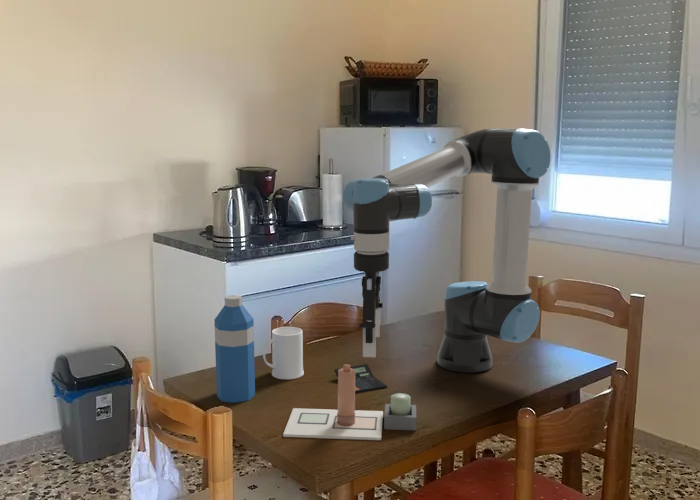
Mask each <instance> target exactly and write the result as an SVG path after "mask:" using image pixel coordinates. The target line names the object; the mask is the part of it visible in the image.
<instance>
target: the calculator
mask: <svg viewBox="0 0 700 500" xmlns="http://www.w3.org/2000/svg"><path fill="white" fill-rule="evenodd" d="M341 368H342V367H341ZM341 368H336V369H335V368H334V373H335V376H336V377H337V378H338V370H339V369H341ZM351 368H352V369H354V370H355V394H360V393H365V392H371V391H377V390H383V389H387V388H388V386H387V385H386V384H385V383H384V382H382V381H381V380H380V379H378V378H377V377H376V376H375V375H374V374H373V373H372V371H371V369H370V367H369V365H368V363H364V364H359V365H353V366H351Z"/></svg>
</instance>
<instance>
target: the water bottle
mask: <svg viewBox="0 0 700 500" xmlns="http://www.w3.org/2000/svg"><path fill="white" fill-rule="evenodd" d="M213 320H214V346H215V347H214V349H215V354H214V355H215V377H216V378H215V379H216V381H215V382H216V397H217V398H218V399H219V400H220V402H225V403H231V404H236V403H241V402H242V403H243V402H247V401H250V400H251V399H252V398H254V396H255V395H256V381H255V380H256V377H255V376H256V375H255V373H256V372H255V371H256V370H255V367H256V365H255V335H254V334H255V333H254V332H255V329H254V328H255V324H254V318H253V316H252V314H250V313H249V311H248V310H247V309H246V308H245V306H244V305H243V296H242V295H239V294H233V295H232V294H231V295H226V296H224V306H223V307H222V308H221V310H220V311H219V313H218V314H217V316H216V317H215V318H214V319H213Z"/></svg>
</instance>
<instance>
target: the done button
mask: <svg viewBox="0 0 700 500" xmlns="http://www.w3.org/2000/svg"><path fill="white" fill-rule="evenodd" d="M411 398H412V397H411V395H409V394H407V393H400V392H398V393H394V394H392V395H390V404H391V415H410V405H412V404H411V402H412V401H411Z"/></svg>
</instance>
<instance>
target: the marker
mask: <svg viewBox="0 0 700 500" xmlns="http://www.w3.org/2000/svg"><path fill="white" fill-rule="evenodd" d="M351 367H352V366H351V364H346V363H345V364H343V365H342V367H341V369H340V368H338V369H339V370H338V377H337V410H338V413H337V423H338V424H339V425H342V426H350V425H353V424H355V410H356V393H355V370H354V369H352V368H351Z"/></svg>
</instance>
